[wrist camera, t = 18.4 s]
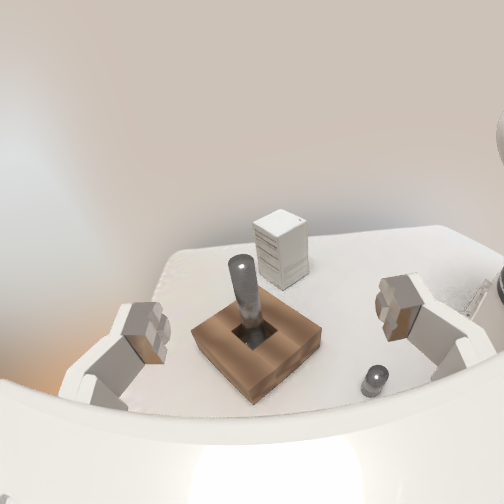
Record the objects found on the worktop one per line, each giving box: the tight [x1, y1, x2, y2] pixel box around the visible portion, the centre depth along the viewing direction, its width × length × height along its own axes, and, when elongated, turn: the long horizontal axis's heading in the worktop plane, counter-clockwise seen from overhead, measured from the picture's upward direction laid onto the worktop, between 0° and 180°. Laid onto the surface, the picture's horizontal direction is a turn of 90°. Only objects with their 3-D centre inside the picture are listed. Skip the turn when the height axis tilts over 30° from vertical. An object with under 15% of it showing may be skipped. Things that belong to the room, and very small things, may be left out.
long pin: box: [228, 254, 266, 351], centre depth 37 cm, size 3×3×18 cm
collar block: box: [191, 286, 322, 405], centre depth 41 cm, size 14×14×5 cm
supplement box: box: [253, 209, 308, 291], centre depth 53 cm, size 7×7×13 cm
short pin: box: [361, 365, 389, 398], centre depth 32 cm, size 3×3×4 cm
